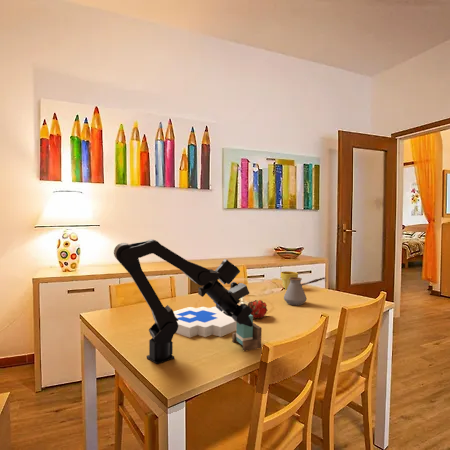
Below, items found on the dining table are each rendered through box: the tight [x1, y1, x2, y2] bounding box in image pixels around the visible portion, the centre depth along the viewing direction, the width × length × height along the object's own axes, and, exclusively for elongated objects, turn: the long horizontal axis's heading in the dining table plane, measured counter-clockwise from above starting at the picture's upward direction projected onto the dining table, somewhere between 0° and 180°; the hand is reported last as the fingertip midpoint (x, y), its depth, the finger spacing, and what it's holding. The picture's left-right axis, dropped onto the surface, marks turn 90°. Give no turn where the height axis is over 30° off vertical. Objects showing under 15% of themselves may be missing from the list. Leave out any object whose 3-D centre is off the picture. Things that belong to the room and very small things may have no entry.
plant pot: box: [280, 270, 299, 291], centre depth 211 cm, size 10×10×10 cm
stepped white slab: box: [173, 305, 237, 338], centre depth 143 cm, size 28×4×28 cm
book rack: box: [231, 322, 262, 352], centre depth 122 cm, size 6×9×7 cm
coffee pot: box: [283, 276, 327, 306], centre depth 175 cm, size 21×12×15 cm, turn 57°
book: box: [235, 314, 254, 346], centre depth 122 cm, size 4×6×10 cm, turn 23°
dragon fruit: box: [247, 299, 269, 320], centre depth 154 cm, size 8×8×12 cm
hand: (248, 323), depth 122 cm, fingers closed on book, 5 cm apart
